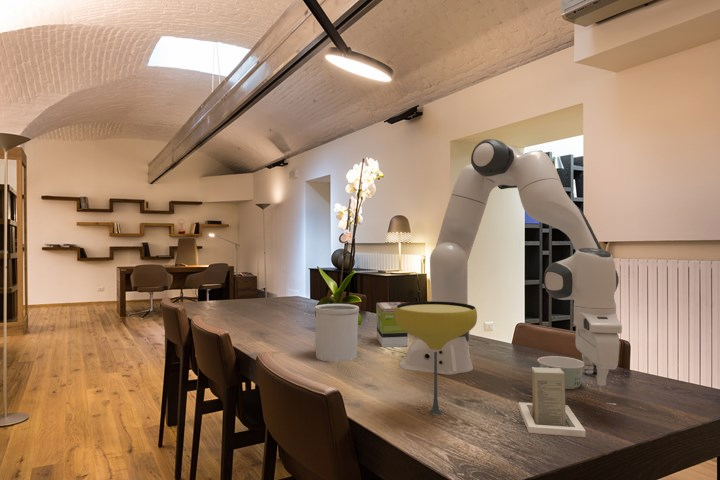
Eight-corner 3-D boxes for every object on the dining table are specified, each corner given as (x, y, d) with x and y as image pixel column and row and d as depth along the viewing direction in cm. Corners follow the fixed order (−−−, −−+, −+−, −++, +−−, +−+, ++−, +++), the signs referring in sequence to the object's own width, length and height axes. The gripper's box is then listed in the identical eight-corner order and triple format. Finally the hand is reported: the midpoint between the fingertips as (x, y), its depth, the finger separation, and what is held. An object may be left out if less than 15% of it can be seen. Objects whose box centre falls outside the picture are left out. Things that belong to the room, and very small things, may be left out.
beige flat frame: (528, 439, 95) (528, 426, 95) (518, 413, 109) (518, 402, 109) (585, 443, 93) (585, 430, 93) (567, 416, 107) (567, 405, 107)
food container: (582, 395, 122) (582, 369, 122) (533, 387, 128) (533, 363, 128) (587, 383, 132) (587, 359, 132) (542, 376, 138) (542, 354, 138)
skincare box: (562, 423, 103) (562, 367, 103) (566, 431, 99) (566, 373, 99) (530, 421, 104) (530, 365, 104) (533, 429, 100) (533, 371, 100)
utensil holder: (351, 351, 169) (351, 302, 168) (365, 362, 154) (365, 308, 154) (310, 355, 164) (310, 304, 164) (321, 366, 150) (320, 310, 150)
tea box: (375, 338, 190) (375, 301, 190) (400, 338, 191) (400, 301, 191) (381, 347, 175) (381, 307, 175) (408, 346, 176) (408, 307, 176)
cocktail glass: (493, 428, 101) (493, 310, 100) (414, 439, 95) (414, 314, 95) (453, 400, 118) (452, 299, 118) (384, 408, 113) (384, 302, 113)
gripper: (568, 311, 120) (568, 365, 121) (592, 326, 100) (592, 391, 100) (595, 311, 119) (595, 366, 119) (625, 327, 99) (624, 393, 99)
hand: (594, 378), depth 110 cm, fingers open, 8 cm apart
